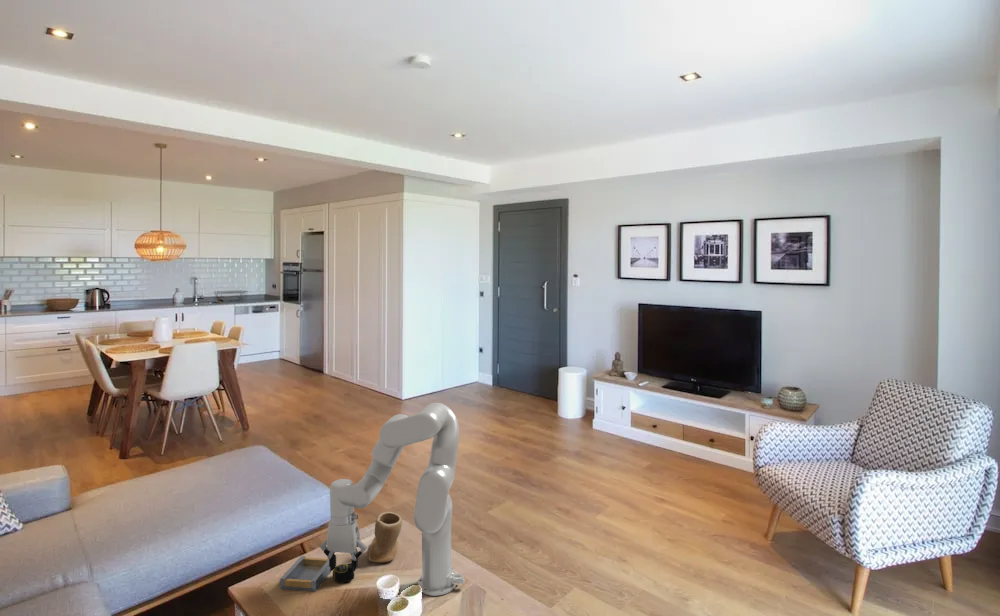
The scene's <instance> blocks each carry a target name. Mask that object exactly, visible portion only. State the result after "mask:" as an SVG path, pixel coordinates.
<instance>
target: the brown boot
mask: <svg viewBox="0 0 1000 616" xmlns="http://www.w3.org/2000/svg"><path fill="white" fill-rule="evenodd" d="M402 522H403V520H402V516H401V515H400V514H398V513H396V512H393V511H385V512H381V513H380V514H379V515H377V517H376V519H375V523H374V538H373V540H372V541H371V544H370V549H369V552H368V559H369V561H370V562H374V563H388V562H391V561H393V560H394V559H395V557H396V555H397V552H398V546H399V541H398V537H400V536H399V535H400V532H401V530H402V524H403V523H402Z"/></svg>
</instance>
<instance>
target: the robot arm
mask: <svg viewBox="0 0 1000 616" xmlns="http://www.w3.org/2000/svg"><path fill="white" fill-rule="evenodd" d="M432 438H433V439H432ZM430 439H432V443H431V447H430V448H431V449H430V457H429V461H428V464H427V466H426V468H425V470H423V473H422V474H421V476H420V478H419V481H418V486H417V491H416V492H417V493H416V499H415V505H414V514H413V521H414V524H415V527H416V528H417V529H418V530H419V531H420V532H421V569H422V570H421V577H419V579H418V581H417V585H418V584H419V585H420V586H421V588H422V591H423V593H422V594H424V595H426V596H427V595H428V596H431V597H432V596H433V597H434V596H435V597H437V596H443V595H446V594H448V593H450V592H452V591H453V590H454V589H455V587H456V586H457V584H460V585H461V584H465V577H464V576H463V573H461V572H460V573H456V572H454V571H455V570H454V568H455V567H452V518H453V501H452V500H453V499H452V498H451V495H450V493H449V492H450V489H451V487H452V485H453V484H454V480H455V475H456V465H457V458H458V451H459V449H458V448H459V441H460V426H459V421H458V418H457V415H456V414H455V412H453V410H452V409H451V408H450V407H448V406H447V405H446V404H444V403H442V402H432V403H429V404H428V405H426V406H424V408H422V409H421V411H420V412H418V413H416V414H413V415H407V414H404V413H398V414H394V415H393V416H391V417H390V418H389V419H388V420H387V421H386V422H385V423H383V425H382V426H381V427H380V430H379V438H378V440H377V441H376V444H375V445H374V446H373V449H372V451H371V457H372V460H371V463H370V464H369V466H368V468H367V470H366V471H365V474H364V475H363V477H362V478H361V479H360V480H359V481H358V482H356V483H355V484H354V483H353V481H352V480H351V479H349V478H339V479H336V480H333V481H332V482H331V484H330V486H329V504H330V505H329V507H330V520H329V522H328V527H327V533H326V540H325V541H323V542H322V543H321V544H320V545H319V548H320V549H321V550H322V552H323V554H324V555H326V559H329V567H330V571H331V572H333V570H334V568H335V567H336V566H337V555H336V554H335V553H339V554H340V553H343V554H349V555H350V556H351V558H352V560H351V562H350V563H351V566H352V572H354V573H355V571H356V570H357V569H358V568H359V558H360V557H361V556H362V555H363V553H364V552H365V551H366V550H367V549H368V546H367V545H366V544H364V543H363V542H362V541H361V535H360V528H359V524H358V523H359V522H358V518H359V515H358V514H356V513H355V509H364V508H366V507H368V506H369V505H370V504H371V503H372V502H373V501H374V499H375V498H376V497H377V496H378V495H379V493H380V491H382V488H383V487H384V485H385V484H386V482H387V481H388V478H389V476H390V474H391V472H392V471H393V468H394V466H395V464H396V462H397V461H398V458H399V456H401V453H402V452H403V450H404V448H405V446H410V445H414V444H417V443H420V442H423V441H427V440H430ZM358 548H359V549H360V550H358Z"/></svg>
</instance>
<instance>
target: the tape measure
mask: <svg viewBox="0 0 1000 616" xmlns="http://www.w3.org/2000/svg"><path fill="white" fill-rule="evenodd" d="M332 578H333V580H334V581H335V582H336V583H346V582H348V581H352V580H354V579H355V571H354V572H352V566H351V562H350V563H341V564H339V565H336V567H335V568H334V570H332Z"/></svg>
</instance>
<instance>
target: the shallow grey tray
mask: <svg viewBox="0 0 1000 616" xmlns="http://www.w3.org/2000/svg"><path fill="white" fill-rule="evenodd" d="M331 573H332V571H330V567H329V559H328V558H318V557H306V556H305V555H301V556H300V557H298V559H297V560H296V561H295V562H294V563H293V565H292V566H290V568H289V569H288V570H287V571H286V572H284V574H283V575H282V576H281V577H280V578H279V579H280V581H279V582H280V589H281V590H290V591H291V590H292V591H301V592H302V591H305V592H317V590H318V589H319V588H320V587H321V586H322V585H323V583H324V582H325V581H326V579H327V578H328V577H329V575H330V574H331Z"/></svg>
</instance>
